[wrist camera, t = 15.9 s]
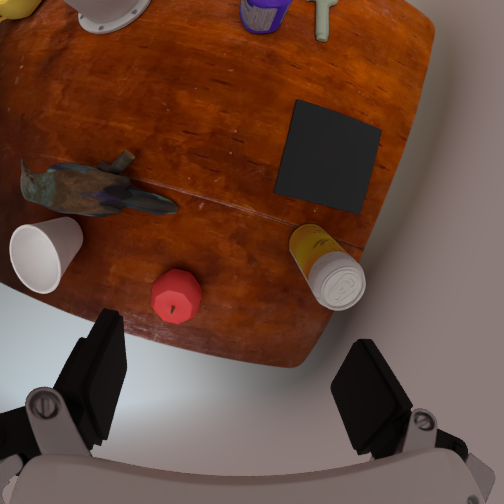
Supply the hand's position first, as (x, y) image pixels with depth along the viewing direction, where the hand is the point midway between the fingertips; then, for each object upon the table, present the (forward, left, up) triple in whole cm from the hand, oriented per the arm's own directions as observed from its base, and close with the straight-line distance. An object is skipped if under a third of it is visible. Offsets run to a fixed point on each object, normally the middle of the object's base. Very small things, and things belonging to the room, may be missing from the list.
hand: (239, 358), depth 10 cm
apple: (+15, -5, -31) cm, 35 cm away
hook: (-34, +6, -31) cm, 47 cm away
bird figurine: (0, -17, -31) cm, 36 cm away
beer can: (+4, +13, -31) cm, 34 cm away
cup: (+10, -25, -31) cm, 41 cm away
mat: (-9, +13, -31) cm, 35 cm away
